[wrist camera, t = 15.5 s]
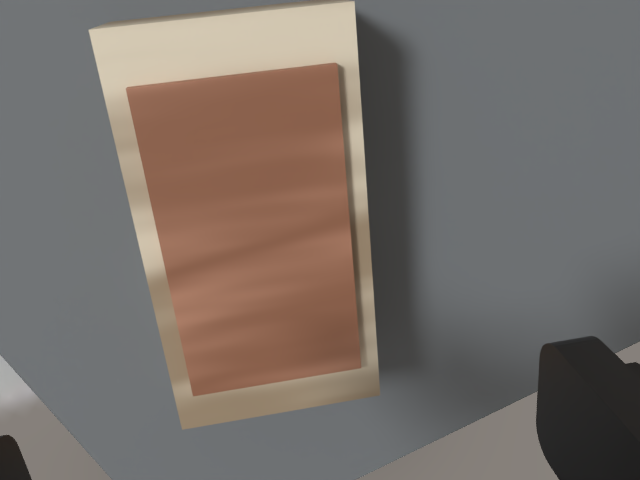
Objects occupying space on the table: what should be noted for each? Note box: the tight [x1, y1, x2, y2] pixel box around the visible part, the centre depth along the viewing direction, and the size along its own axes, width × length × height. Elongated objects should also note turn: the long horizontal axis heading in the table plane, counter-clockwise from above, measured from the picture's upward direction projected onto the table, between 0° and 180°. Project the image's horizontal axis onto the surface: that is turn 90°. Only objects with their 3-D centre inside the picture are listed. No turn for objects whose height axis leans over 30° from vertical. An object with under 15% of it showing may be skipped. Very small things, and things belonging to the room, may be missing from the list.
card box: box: [89, 0, 380, 430], centre depth 18 cm, size 3×6×12 cm
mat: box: [0, 0, 640, 480], centre depth 19 cm, size 24×30×1 cm
